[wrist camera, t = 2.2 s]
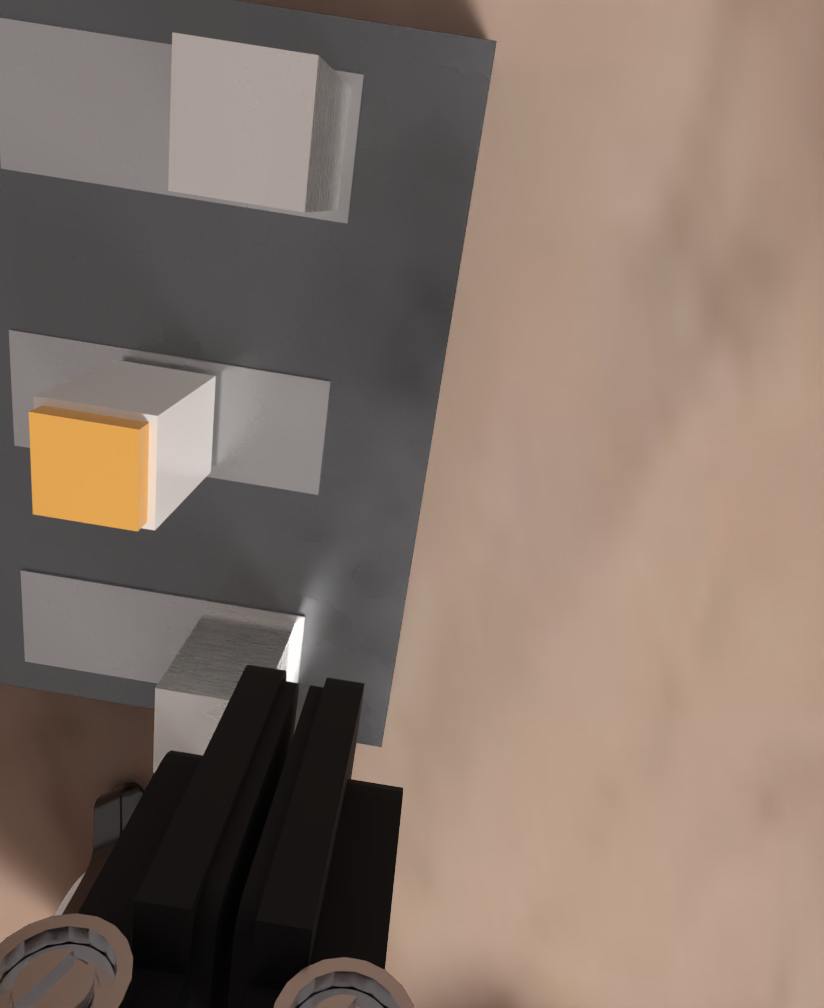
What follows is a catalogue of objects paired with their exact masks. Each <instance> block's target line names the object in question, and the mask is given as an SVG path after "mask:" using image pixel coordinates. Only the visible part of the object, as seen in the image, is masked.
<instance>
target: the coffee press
mask: <svg viewBox="0 0 824 1008" xmlns="http://www.w3.org/2000/svg"><path fill="white" fill-rule="evenodd" d="M143 793H144V791H143V789H142V788H141V787H140V786H139V785H138V784H136V783H127V784H125V785H123V786H121V787H118V788H116V789H114V790H112V791H110V792H107V793H105V794H103V795H101V796H100V797H99V798H98V799H97V801H96V803H95V807H94V845H93V853H92V858H91V861H90V864H89V866H88V868H87V870H86V872H85V873H84V874H83V875H82V876H81V877H80V878H79V879H78V880H77V881H76V882H75V884H74V885H73V886H72V887H71V889H70V890H69V892H68V893H67V895H66V896H65V898H64V899H63V901H62V903H61V904H60V906H59V907H58V909H57V911H56V912H55V914H54V916H56V915H65V914H75V913H78V912H79V910H80V908H81V906H82V904H83V903H84V901H85V899H86V897H87V895H88V893H89V892H90V890H91V888H92V886H93V884H94V883H95V881H96V879H97V877H98V875H99V873H100V872H101V870H102V868H103V866H104V864H105V863H106V861H107V859H108V857H109V855H110V853H111V852H112V850H113V848H114V846H115V844H116V843H117V841H118V839H119V837H120V835H121V833H122V825H123V830H124V828H125V826H126V824H127V823H128V821H129V819H130V817H131V815H132V813H133V812H134V810H135V808H136V806H137V804H138V802H139V801H140V799H141V797H142V795H143Z"/></svg>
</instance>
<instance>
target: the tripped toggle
mask: <svg viewBox="0 0 824 1008" xmlns="http://www.w3.org/2000/svg"><path fill="white" fill-rule="evenodd" d="M215 381H216V376H213V375H207V374H201V373H194V372H188V371H182V370H176V369H170V368H163V367H157V366H151V365H145V364H139V363H132V362H126V361H120V360H113V361H110V362H108V363H106V364H104V365H101V366H99V367H97V368H95V369H92V370H90V371H88V372H86V373H83V374H81V375H79V376H77V377H75V378H72V379H70V380H68V381H66V382H63V383H61V384H59V385H57V386H54V387H52V388H50V389H48V390H45V391H43V392H41V393H39V394H36V395H34V396H33V397H34V409H33V410H31V411H29V433H30V457H31V482H32V506H33V514H34V515H40V516H46V517H52V518H58V519H65V520H71V521H77V522H83V523H89V524H95V525H101V526H107V527H113V528H120V529H126V530H132V531H139V530H140V529H141V528H143V529H149V530H156V529H157V528H158V527H159V526H160V525H161V524H162V523H163V522H164V521H165V519H166V518H167V517H168V516H169V515H170V514H171V513H172V512H173V511H174V510H175V509H176V508H177V507H178V506H179V505H180V504H181V503H182V502H183V501H184V500H185V499H186V497H187V496H188V495H189V494H190V493H191V492H192V491H193V490H194V489H195V488H196V487H197V486H198V485H199V484H200V483H201V482H202V481H203V480H204V479H205V478H206V477H207V475H208V474H209V473H210V472H211V459H212V439H213V420H214V401H215Z"/></svg>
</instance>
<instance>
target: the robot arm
mask: <svg viewBox="0 0 824 1008" xmlns="http://www.w3.org/2000/svg"><path fill="white" fill-rule="evenodd" d="M286 679H287V674H286V670H279V669H273V668H267V667H261V666H255V665H247V666H246V667H245V669H244V671H243V673H242V675H241V677H240V679H239V681H238V683H237V686H236V688H235V690H234V692H233V694H232V696H231V698H230V700H229V702H228V704H227V706H226V709H225V711H224V713H223V715H222V717H221V719H220V721H219V723H218V725H217V727H216V729H215V731H214V734H213V736H212V738H211V740H210V742H209V744H208V746H207V748H206V750H205V752H204V754H203V755H197V754H191V753H185V752H179V751H173V750H171V751H169V752H168V753H166V755H165V756H164V758H163V759H162V761H161V762H160V764H159V766H158V768H157V770H156V772H155V773H154V775H153V777H152V779H151V781H150V782H149V784H148V786H147V788H146V790H145V792H144V793H143V795H142V797H141V799H140V801H139V802H138V804H137V806H136V808H135V810H134V812H133V813H132V815H131V817H130V819H129V821H128V823H127V824H126V826H125V828H124V830H123V832H122V833H121V835H120V837H119V839H118V841H117V843H116V844H115V846H114V848H113V850H112V852H111V853H110V855H109V857H108V859H107V861H106V863H105V864H104V866H103V868H102V870H101V872H100V873H99V875H98V877H97V879H96V881H95V883H94V884H93V886H92V888H91V890H90V892H89V893H88V895H87V897H86V899H85V901H84V903H83V904H82V906H81V908H80V910H79V912H78V913H75V914H65V915H56V916H51V917H48V918H45V919H42V920H39V921H36V922H34V923H31V924H28V925H27V926H25V927H23V928H22V929H20V930H18V931H17V932H15V933H13V934H12V935H10V936H9V937H7V938H6V939H5V940H4V941H3V942H1V943H0V1008H414V1004H413V1003H412V1001H411V999H410V998H409V996H408V994H407V993H406V991H405V989H404V988H403V986H402V985H401V984H400V983H399V982H398V981H397V980H396V979H395V978H394V977H392V976H391V975H390V974H389V973H388V972H387V971H386V970H385V961H386V952H387V942H388V932H389V923H390V913H391V903H392V894H393V884H394V874H395V865H396V855H397V845H398V836H399V826H400V816H401V807H402V796H403V788H400V787H394V786H388V785H382V784H376V783H370V782H364V781H357V780H351V775H352V768H353V761H354V754H355V748H356V741H357V734H358V727H359V721H360V714H361V707H362V700H363V694H364V686H365V683H360V682H354V681H347V680H341V679H335V678H329V677H327V679H326V681H325V685H324V687H319V686H313V685H310V687H309V690H308V693H307V696H306V699H305V702H304V705H303V708H302V711H301V714H300V717H299V720H298V724H297V727H296V730H295V721H296V712H297V703H298V694H299V683H294V682H288V681H286ZM294 730H295V733H294Z"/></svg>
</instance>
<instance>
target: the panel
mask: <svg viewBox="0 0 824 1008" xmlns="http://www.w3.org/2000/svg"><path fill="white" fill-rule="evenodd" d="M495 48H496V41H493V40H487V39H480V38H474V37H467V36H461V35H454V34H448V33H442V32H435V31H429V30H422V29H416V28H410V27H403V26H397V25H390V24H384V23H377V22H371V21H365V20H358V19H352V18H345V17H339V16H333V15H326V14H320V13H313V12H307V11H301V10H294V9H288V8H281V7H275V6H268V5H262V4H256V3H249V2H243V1H236V0H0V684H6V685H12V686H18V687H24V688H30V689H36V690H42V691H48V692H54V693H60V694H66V695H72V696H78V697H84V698H90V699H96V700H102V701H108V702H114V703H120V704H126V705H132V706H138V707H144V708H150V709H155V717H154V755H153V773H155V772H156V770H157V768H158V766H159V764H160V762H161V761H162V759H163V758H164V756H165V755H166V753H168V752H169V751H171V750H173V751H179V752H185V753H191V754H197V755H203V754H204V752H205V750H206V748H207V746H208V744H209V742H210V740H211V738H212V736H213V734H214V731H215V729H216V727H217V725H218V723H219V721H220V719H221V717H222V715H223V713H224V711H225V709H226V706H227V704H228V702H229V700H230V698H231V696H232V694H233V692H234V690H235V688H236V686H237V683H238V681H239V679H240V677H241V675H242V673H243V671H244V669H245V667H246V666H247V665H255V666H261V667H267V668H273V669H279V670H286V674H287V679H286V681H288V682H294V683H299V694H298V703H297V712H296V721H295V730H296V727H297V724H298V720H299V717H300V714H301V711H302V708H303V705H304V702H305V699H306V696H307V693H308V690H309V687H310V685H313V686H319V687H324V685H325V681H326V679H327V677H329V678H335V679H341V680H347V681H354V682H360V683H365V686H364V694H363V700H362V707H361V714H360V721H359V727H358V734H357V741H356V743H360V744H367V745H373V746H379V747H382V741H383V735H384V728H385V722H386V716H387V710H388V704H389V698H390V692H391V685H392V679H393V673H394V667H395V661H396V655H397V649H398V642H399V636H400V630H401V624H402V618H403V612H404V606H405V600H406V593H407V587H408V581H409V575H410V569H411V563H412V557H413V550H414V544H415V538H416V532H417V526H418V520H419V514H420V508H421V501H422V495H423V489H424V483H425V477H426V471H427V465H428V458H429V452H430V446H431V440H432V434H433V428H434V422H435V416H436V409H437V403H438V397H439V391H440V385H441V379H442V373H443V366H444V360H445V354H446V348H447V342H448V336H449V330H450V324H451V317H452V311H453V305H454V299H455V293H456V287H457V281H458V274H459V268H460V262H461V256H462V250H463V244H464V238H465V232H466V225H467V219H468V213H469V207H470V201H471V195H472V189H473V182H474V176H475V170H476V164H477V158H478V152H479V146H480V140H481V133H482V127H483V121H484V115H485V109H486V103H487V97H488V90H489V84H490V78H491V72H492V66H493V60H494V54H495ZM113 360H120V361H126V362H132V363H139V364H145V365H151V366H157V367H163V368H170V369H176V370H182V371H188V372H194V373H201V374H207V375H213V376H216V381H215V401H214V420H213V439H212V459H211V472H210V473H209V474H208V475H207V477H206V478H205V479H204V480H203V481H202V482H201V483H200V484H199V485H198V486H197V487H196V488H195V489H194V490H193V491H192V492H191V493H190V494H189V495H188V496H187V497H186V499H185V500H184V501H183V502H182V503H181V504H180V505H179V506H178V507H177V508H176V509H175V510H174V511H173V512H172V513H171V514H170V515H169V516H168V517H167V518H166V519H165V521H164V522H163V523H162V524H161V525H160V526H159V527H158V528H157V529H156V530H149V529H143V528H141V529H140V530H139V531H132V530H126V529H120V528H113V527H107V526H101V525H95V524H89V523H83V522H77V521H71V520H65V519H58V518H52V517H46V516H40V515H34V514H33V506H32V482H31V457H30V433H29V411H31V410H33V409H34V397H33V396H34V395H36V394H39V393H41V392H43V391H45V390H48V389H50V388H52V387H54V386H57V385H59V384H61V383H63V382H66V381H68V380H70V379H72V378H75V377H77V376H79V375H81V374H83V373H86V372H88V371H90V370H92V369H95V368H97V367H99V366H101V365H104V364H106V363H108V362H110V361H113ZM295 730H294V733H295Z"/></svg>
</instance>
